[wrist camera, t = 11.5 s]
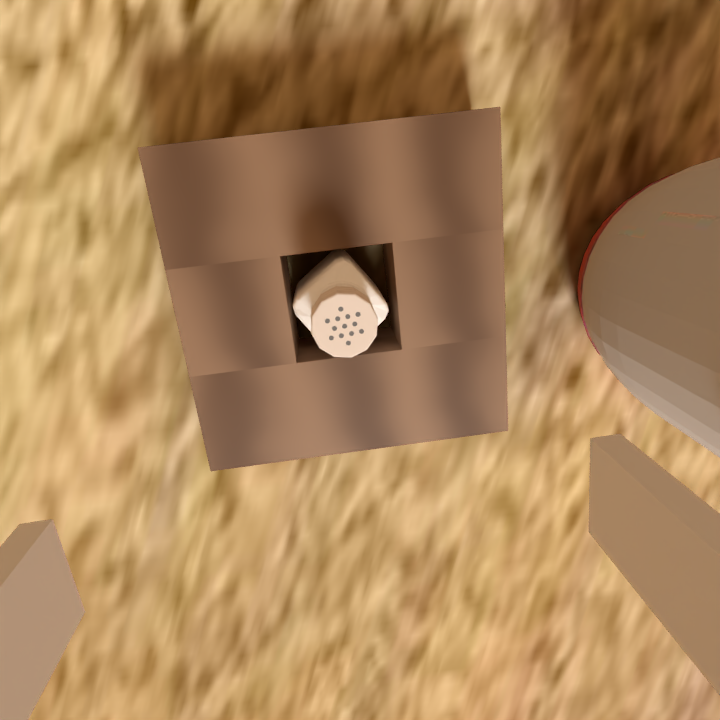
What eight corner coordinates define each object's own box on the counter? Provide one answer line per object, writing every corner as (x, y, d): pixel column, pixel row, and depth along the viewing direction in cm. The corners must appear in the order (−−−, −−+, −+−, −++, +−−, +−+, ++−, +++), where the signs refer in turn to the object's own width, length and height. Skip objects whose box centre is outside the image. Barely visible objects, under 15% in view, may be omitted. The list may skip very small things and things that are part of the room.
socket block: (224, 434, 37) (210, 471, 32) (164, 152, 31) (137, 147, 26) (483, 399, 38) (508, 430, 33) (472, 117, 32) (500, 106, 27)
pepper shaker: (334, 331, 35) (341, 382, 26) (292, 286, 34) (283, 323, 25) (381, 290, 35) (404, 328, 26) (339, 242, 33) (347, 265, 24)
